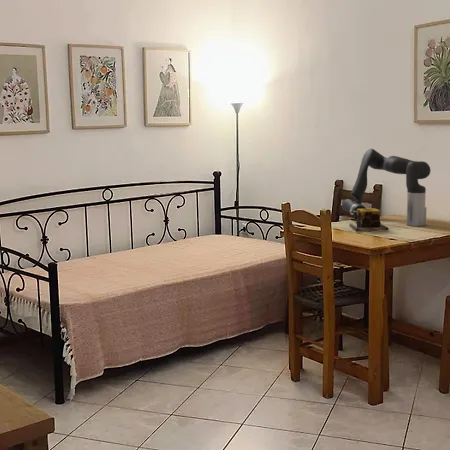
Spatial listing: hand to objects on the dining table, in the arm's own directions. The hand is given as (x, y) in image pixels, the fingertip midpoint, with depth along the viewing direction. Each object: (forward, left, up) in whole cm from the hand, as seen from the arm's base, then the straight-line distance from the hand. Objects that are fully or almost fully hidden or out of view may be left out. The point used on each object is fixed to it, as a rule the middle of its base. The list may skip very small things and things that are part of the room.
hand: (366, 215), depth 362 cm
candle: (0, +5, -6) cm, 8 cm away
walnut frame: (0, +4, -6) cm, 7 cm away
